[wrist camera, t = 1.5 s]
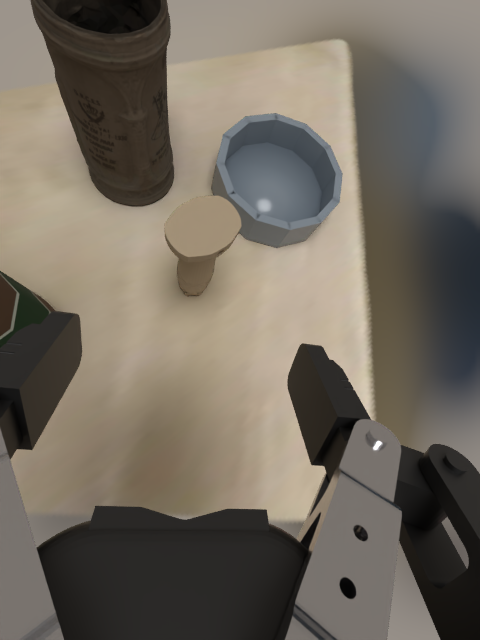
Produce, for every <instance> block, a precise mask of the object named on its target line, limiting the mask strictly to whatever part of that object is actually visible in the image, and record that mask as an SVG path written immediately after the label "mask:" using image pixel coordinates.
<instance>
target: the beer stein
mask: <svg viewBox="0 0 480 640" xmlns="http://www.w3.org/2000/svg"><path fill="white" fill-rule="evenodd" d="M31 5H32V9H33V14H34V18H35V20H36V23H37V25H38V27H39V29H40V30H41V32H42V33H43V36H44V39H45V41H46V45H47V49H48V51H49V54H50V56H51V59H52V62H53V65H54V68H55V78H56V81H57V84H58V87H59V90H60V94H61V97H62V99H63V102H64V105H65V107H66V110H67V112H68V115H69V118H70V121H71V123H72V126H73V129H74V132H75V134H76V137H77V141H78V143H79V145H80V148H81V151H82V154H83V156H84V158H85V160H86V163H87V165H88V169H89V173H90V176H91V179H92V181H93V183H94V184H95V186H96V187H97V189H98V190H99V191H100V192H101V193H103V194H104V195H105V196H106V197H108V198H109V199H111V200H113V201H115V202H118V203H121V204H126V205H146V204H151V203H153V202H155V201H157V200H159V199H160V198H162V197H163V196H164V195H165V194H166V193H167V192H168V190H169V189H170V187H171V186H172V182H173V179H174V167H173V163H172V162H173V154H172V148H171V145H170V137H169V124H168V106H167V66H166V51H167V45H168V42H169V38H170V18H169V17H170V16H169V13H168V6H167V0H31Z"/></svg>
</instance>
